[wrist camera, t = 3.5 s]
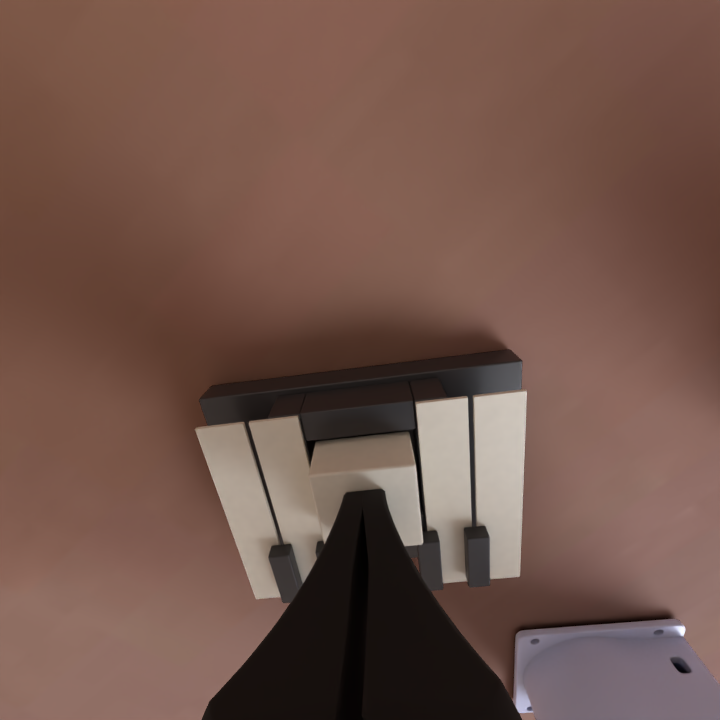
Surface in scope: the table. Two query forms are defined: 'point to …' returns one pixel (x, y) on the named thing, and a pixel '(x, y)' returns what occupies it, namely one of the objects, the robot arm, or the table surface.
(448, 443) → the piano keys trim
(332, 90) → the table surface
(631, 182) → the table surface
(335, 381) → the toy piano
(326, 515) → the square cream block
